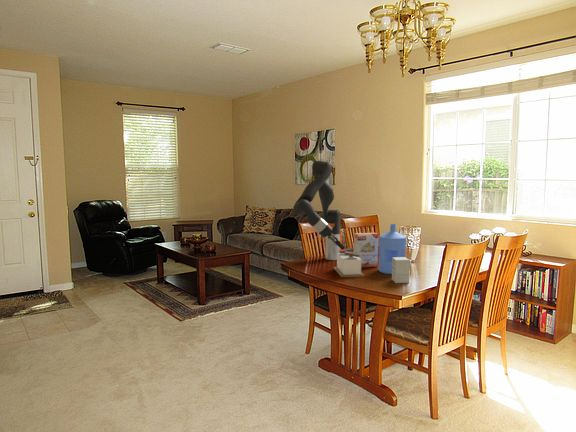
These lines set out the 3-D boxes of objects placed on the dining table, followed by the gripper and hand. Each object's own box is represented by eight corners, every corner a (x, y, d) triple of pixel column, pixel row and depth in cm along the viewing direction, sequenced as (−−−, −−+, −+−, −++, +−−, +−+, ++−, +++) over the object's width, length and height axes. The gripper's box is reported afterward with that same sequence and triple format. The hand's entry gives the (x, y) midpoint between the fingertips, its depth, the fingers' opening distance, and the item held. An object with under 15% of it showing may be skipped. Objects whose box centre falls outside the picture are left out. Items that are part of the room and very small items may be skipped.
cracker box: (357, 268, 256) (357, 234, 254) (353, 266, 262) (353, 233, 259) (378, 266, 260) (378, 233, 257) (373, 264, 265) (374, 232, 263)
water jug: (373, 269, 252) (374, 223, 249) (395, 267, 258) (396, 222, 255) (388, 275, 238) (389, 226, 235) (411, 273, 243) (412, 225, 240)
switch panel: (334, 268, 255) (334, 250, 254) (355, 268, 257) (355, 250, 255) (341, 277, 235) (341, 257, 233) (364, 276, 236) (364, 257, 235)
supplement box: (404, 279, 230) (405, 256, 228) (409, 283, 222) (409, 259, 221) (391, 279, 229) (392, 256, 228) (395, 283, 222) (395, 259, 221)
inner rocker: (339, 254, 252) (338, 250, 251) (352, 251, 252) (351, 247, 252) (341, 255, 248) (340, 251, 247) (354, 252, 248) (353, 248, 248)
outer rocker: (343, 255, 241) (344, 251, 240) (356, 257, 241) (357, 253, 241) (344, 256, 237) (345, 252, 236) (358, 259, 237) (359, 255, 237)
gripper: (329, 224, 229) (350, 246, 231) (324, 221, 242) (345, 241, 245) (319, 234, 229) (341, 255, 232) (315, 230, 242) (336, 251, 245)
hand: (343, 248), depth 238 cm, fingers closed
